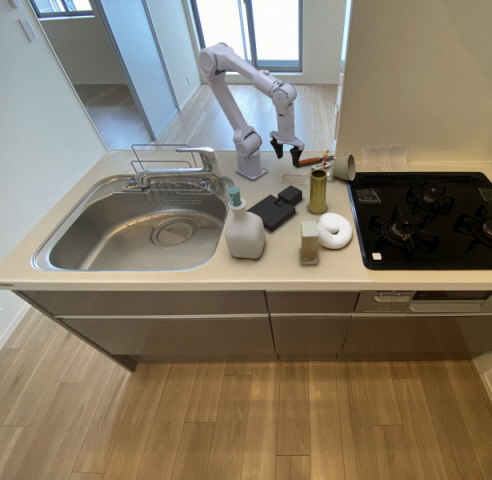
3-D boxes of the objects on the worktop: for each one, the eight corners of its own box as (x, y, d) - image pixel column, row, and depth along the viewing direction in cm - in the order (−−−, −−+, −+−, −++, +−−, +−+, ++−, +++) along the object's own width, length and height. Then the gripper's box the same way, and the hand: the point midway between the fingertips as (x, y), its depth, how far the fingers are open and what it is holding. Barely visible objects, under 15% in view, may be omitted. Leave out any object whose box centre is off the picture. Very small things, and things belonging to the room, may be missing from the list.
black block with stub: (273, 206, 100) (272, 197, 97) (291, 193, 105) (290, 184, 102) (284, 212, 98) (284, 203, 95) (302, 199, 102) (302, 190, 100)
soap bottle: (229, 259, 84) (208, 201, 66) (238, 235, 90) (220, 176, 72) (261, 261, 83) (247, 204, 65) (267, 237, 89) (257, 178, 71)
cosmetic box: (301, 249, 86) (300, 219, 77) (315, 248, 86) (316, 219, 77) (302, 265, 81) (301, 236, 73) (317, 265, 82) (318, 235, 73)
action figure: (323, 164, 118) (323, 143, 111) (329, 164, 118) (330, 144, 111) (318, 181, 110) (318, 160, 103) (325, 181, 110) (326, 161, 103)
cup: (334, 150, 110) (352, 148, 107) (340, 171, 117) (357, 170, 114) (327, 165, 105) (346, 163, 101) (334, 186, 111) (351, 185, 108)
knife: (353, 156, 122) (347, 154, 126) (352, 150, 121) (347, 148, 125) (298, 168, 115) (294, 166, 119) (297, 161, 114) (293, 159, 118)
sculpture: (354, 221, 94) (357, 203, 88) (348, 255, 84) (351, 236, 78) (319, 216, 96) (320, 197, 90) (309, 247, 86) (309, 229, 80)
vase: (328, 204, 100) (330, 170, 90) (323, 215, 96) (325, 180, 86) (311, 201, 102) (312, 166, 91) (306, 211, 98) (306, 176, 88)
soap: (326, 161, 121) (326, 159, 120) (333, 165, 118) (333, 163, 117) (309, 167, 116) (309, 165, 115) (316, 171, 113) (316, 168, 112)
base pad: (246, 216, 96) (245, 211, 94) (271, 199, 103) (270, 194, 101) (271, 232, 91) (270, 226, 89) (295, 213, 97) (295, 207, 95)
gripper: (261, 123, 94) (266, 159, 104) (294, 135, 88) (295, 173, 98) (276, 116, 98) (279, 151, 108) (308, 127, 91) (308, 164, 101)
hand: (287, 161), depth 103 cm, fingers open, 7 cm apart
